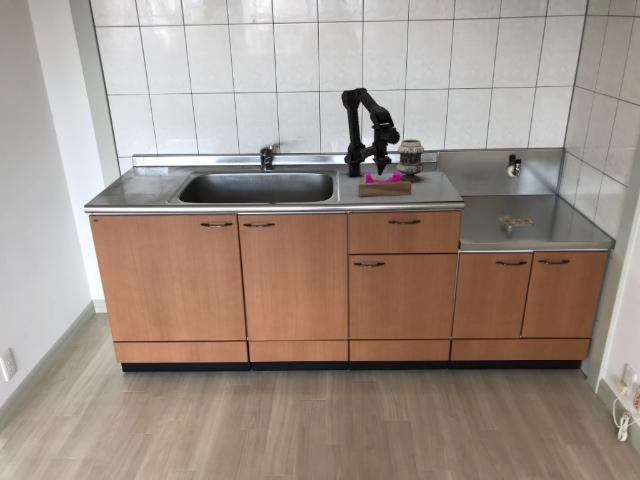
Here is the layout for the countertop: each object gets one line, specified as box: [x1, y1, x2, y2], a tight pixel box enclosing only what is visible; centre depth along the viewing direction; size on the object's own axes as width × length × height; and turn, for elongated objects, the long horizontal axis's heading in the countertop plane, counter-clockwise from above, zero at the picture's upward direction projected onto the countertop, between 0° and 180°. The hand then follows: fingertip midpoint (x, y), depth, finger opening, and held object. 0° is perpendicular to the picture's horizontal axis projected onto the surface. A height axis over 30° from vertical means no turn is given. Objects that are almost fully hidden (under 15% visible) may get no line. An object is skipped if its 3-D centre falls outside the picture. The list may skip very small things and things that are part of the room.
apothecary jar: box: [396, 138, 425, 183], centre depth 231 cm, size 12×12×18 cm
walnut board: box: [357, 181, 412, 198], centre depth 214 cm, size 3×22×5 cm, turn 96°
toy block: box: [364, 171, 402, 183], centre depth 221 cm, size 15×6×8 cm, turn 90°
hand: (379, 175), depth 224 cm, fingers closed
